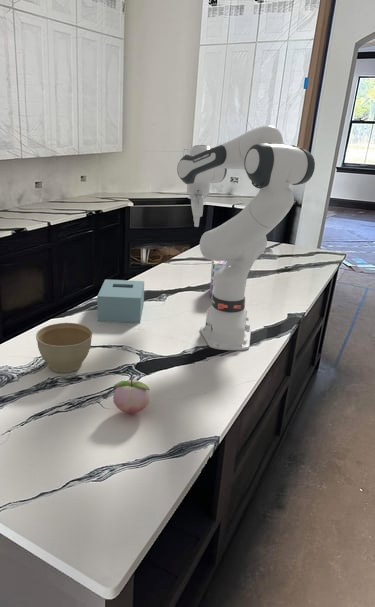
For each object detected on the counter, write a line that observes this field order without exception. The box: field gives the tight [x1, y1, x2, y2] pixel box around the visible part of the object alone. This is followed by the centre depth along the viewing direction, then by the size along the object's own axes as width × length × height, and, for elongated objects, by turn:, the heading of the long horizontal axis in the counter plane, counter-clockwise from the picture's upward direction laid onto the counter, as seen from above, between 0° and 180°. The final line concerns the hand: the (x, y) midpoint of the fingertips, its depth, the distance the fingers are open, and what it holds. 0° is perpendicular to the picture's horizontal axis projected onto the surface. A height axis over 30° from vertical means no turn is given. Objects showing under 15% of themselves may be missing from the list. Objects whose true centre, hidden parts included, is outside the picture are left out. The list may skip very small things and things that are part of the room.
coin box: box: [96, 279, 145, 324], centre depth 179 cm, size 20×16×10 cm
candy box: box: [209, 260, 227, 300], centre depth 204 cm, size 14×6×16 cm, turn 179°
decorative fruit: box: [112, 378, 151, 414], centre depth 116 cm, size 9×8×10 cm
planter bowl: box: [35, 322, 93, 374], centre depth 136 cm, size 16×16×11 cm
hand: (195, 224), depth 182 cm, fingers open, 8 cm apart
